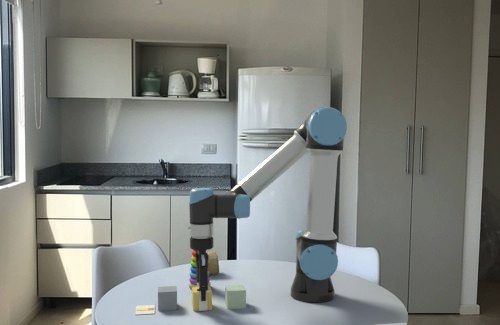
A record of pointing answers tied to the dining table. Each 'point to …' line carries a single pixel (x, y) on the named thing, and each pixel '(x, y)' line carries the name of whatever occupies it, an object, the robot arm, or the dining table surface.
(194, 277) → the stacking toy
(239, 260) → the dining table surface
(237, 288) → the sage brick
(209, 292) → the mustard brick
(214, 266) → the tan rough rounded lump
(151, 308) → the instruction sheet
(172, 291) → the slate brick
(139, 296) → the dining table surface
